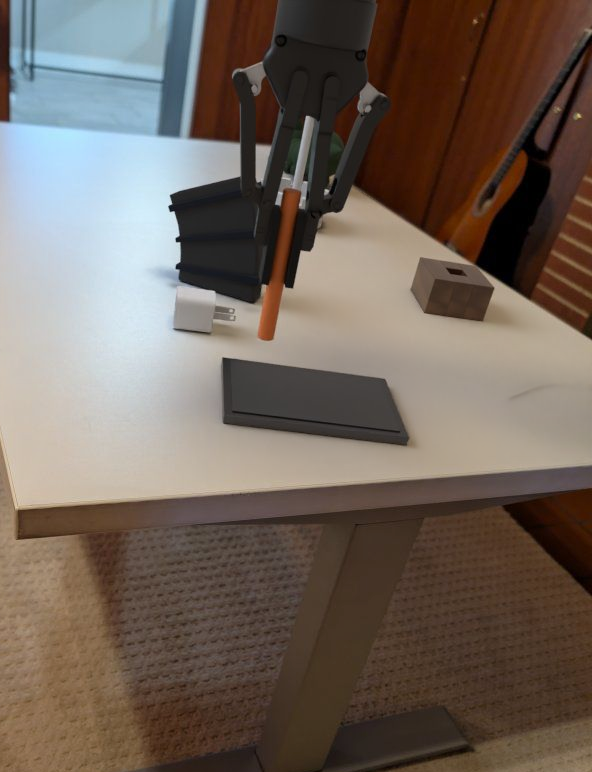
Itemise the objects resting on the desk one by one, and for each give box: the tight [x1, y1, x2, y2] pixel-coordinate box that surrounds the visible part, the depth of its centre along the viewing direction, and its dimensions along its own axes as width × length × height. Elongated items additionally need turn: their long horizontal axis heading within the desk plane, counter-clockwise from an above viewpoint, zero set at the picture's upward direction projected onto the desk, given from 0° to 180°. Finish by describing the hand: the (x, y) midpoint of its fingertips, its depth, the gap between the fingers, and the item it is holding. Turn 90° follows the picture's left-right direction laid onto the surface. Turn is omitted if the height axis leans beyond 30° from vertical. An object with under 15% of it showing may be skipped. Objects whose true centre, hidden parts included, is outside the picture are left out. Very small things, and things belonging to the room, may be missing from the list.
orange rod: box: [256, 188, 301, 342], centre depth 69 cm, size 2×2×14 cm
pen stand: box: [410, 256, 495, 322], centre depth 107 cm, size 9×9×5 cm
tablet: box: [220, 356, 410, 446], centre depth 76 cm, size 18×12×1 cm, turn 93°
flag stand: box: [259, 116, 329, 230], centre depth 124 cm, size 13×13×30 cm
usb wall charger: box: [172, 285, 237, 334], centre depth 87 cm, size 4×7×4 cm, turn 94°
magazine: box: [167, 176, 264, 303], centre depth 96 cm, size 4×13×15 cm, turn 69°
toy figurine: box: [284, 117, 345, 188], centre depth 154 cm, size 9×19×25 cm
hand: (275, 280), depth 69 cm, fingers closed on orange rod, 1 cm apart
